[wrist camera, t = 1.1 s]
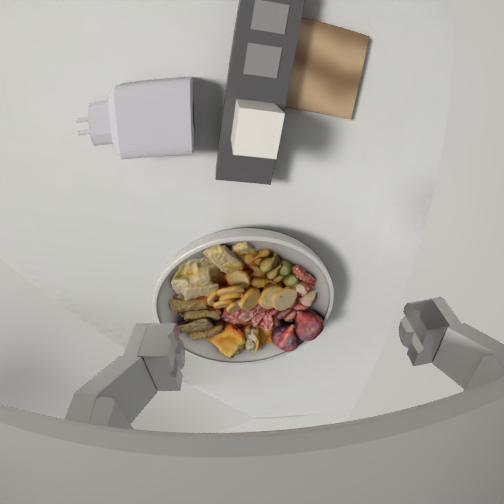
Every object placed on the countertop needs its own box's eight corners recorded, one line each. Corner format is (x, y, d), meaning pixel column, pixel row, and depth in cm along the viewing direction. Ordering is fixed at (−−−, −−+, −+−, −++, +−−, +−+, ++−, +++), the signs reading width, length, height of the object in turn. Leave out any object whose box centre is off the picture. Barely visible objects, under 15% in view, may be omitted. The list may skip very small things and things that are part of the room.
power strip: (245, -34, 26) (248, -42, 23) (303, -24, 27) (311, -30, 24) (215, 170, 42) (215, 182, 39) (267, 175, 43) (271, 187, 40)
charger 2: (235, 96, 35) (239, 107, 29) (273, 101, 35) (285, 113, 29) (230, 135, 38) (233, 154, 31) (266, 139, 38) (276, 159, 32)
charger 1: (80, 89, 33) (193, 76, 34) (88, 154, 38) (195, 144, 39) (65, 95, 29) (190, 79, 30) (75, 166, 34) (192, 156, 36)
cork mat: (300, 18, 30) (301, 17, 30) (366, 36, 32) (369, 36, 31) (284, 105, 37) (285, 106, 37) (348, 118, 39) (350, 119, 38)
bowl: (147, 331, 60) (142, 364, 53) (173, 196, 44) (166, 226, 37) (286, 352, 68) (293, 382, 61) (355, 243, 52) (373, 273, 45)
